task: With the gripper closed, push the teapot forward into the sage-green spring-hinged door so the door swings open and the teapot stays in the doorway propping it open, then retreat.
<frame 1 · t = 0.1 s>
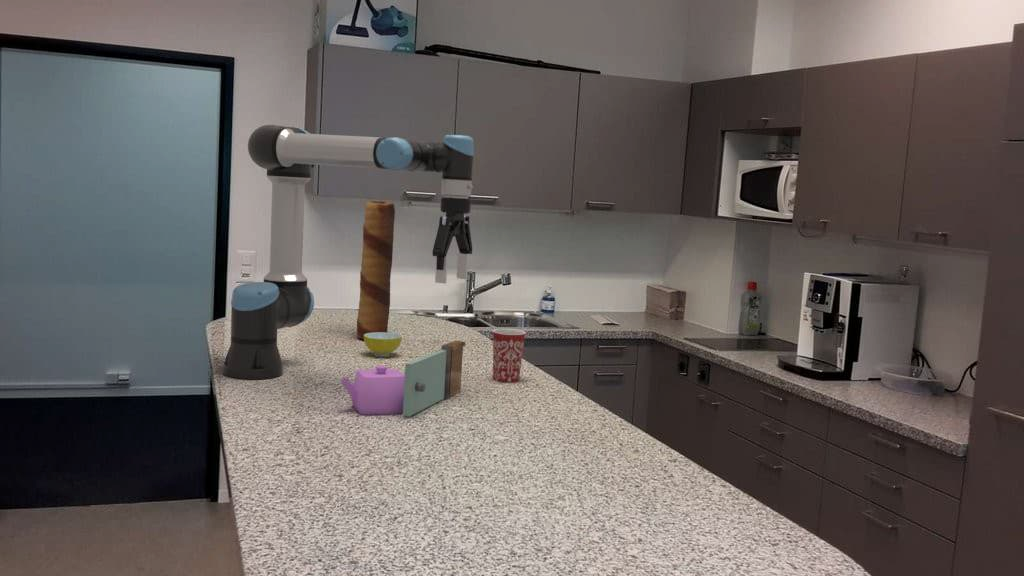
hand: (451, 280, 235), 28 cm above the countertop, fingers open, 13 cm apart
mug: (504, 379, 255), on the countertop
doorframe: (443, 398, 228), on the countertop
door: (428, 382, 216), point 6 cm above the countertop, hinge at 0.4°
teapot: (377, 410, 213), on the countertop
wafer roll: (373, 339, 303), on the countertop
bowl: (381, 356, 276), on the countertop
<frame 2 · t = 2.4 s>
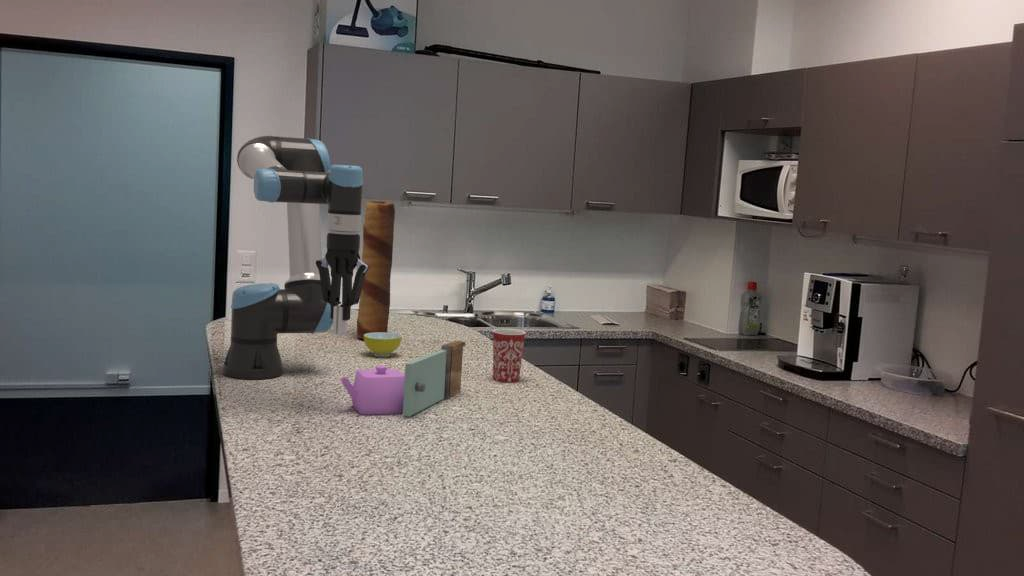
hand: (339, 333, 215), 16 cm above the countertop, fingers closed
nothing on the countertop moved.
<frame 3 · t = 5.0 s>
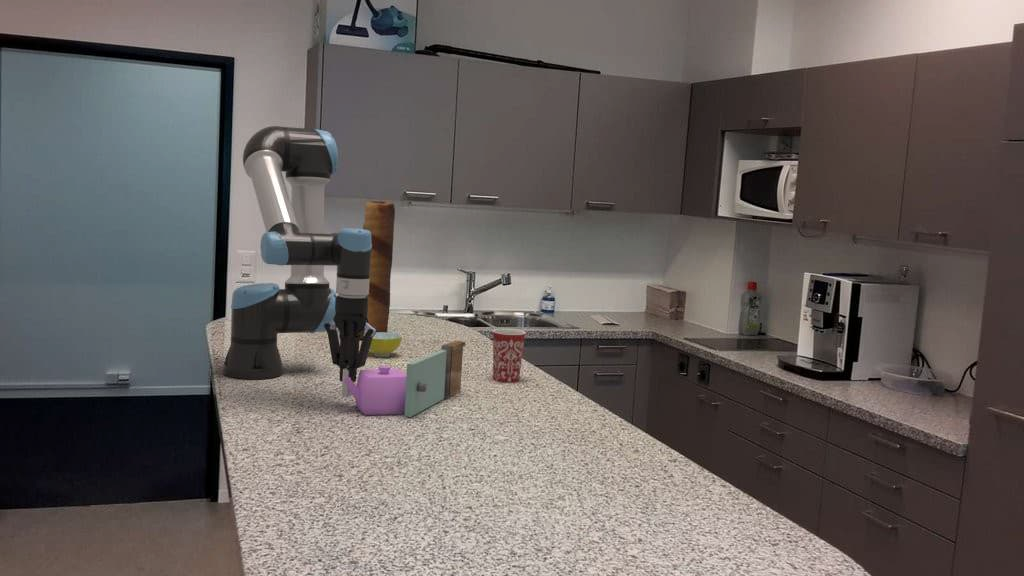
hand: (347, 395, 216), 2 cm above the countertop, fingers closed
door: (429, 382, 216), point 6 cm above the countertop, hinge at 1.5°, touching teapot
teapot: (380, 410, 213), on the countertop, touching door, gripper
everything else where it was.
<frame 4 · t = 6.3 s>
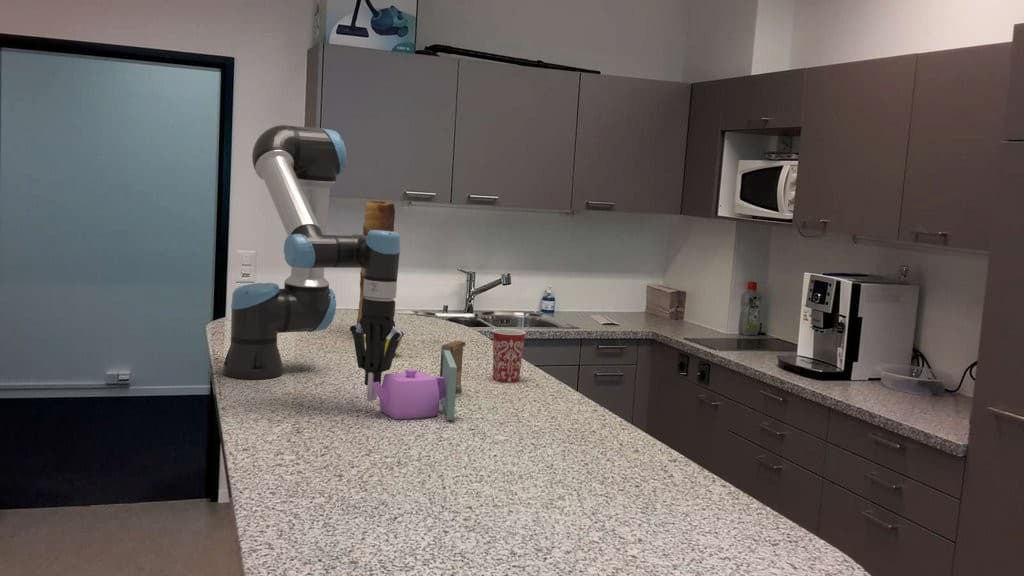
hand: (371, 399, 213), 2 cm above the countertop, fingers closed
door: (452, 383, 216), point 6 cm above the countertop, hinge at 27.6°, touching teapot
teapot: (407, 414, 211), on the countertop, touching door, gripper
everything else where it was.
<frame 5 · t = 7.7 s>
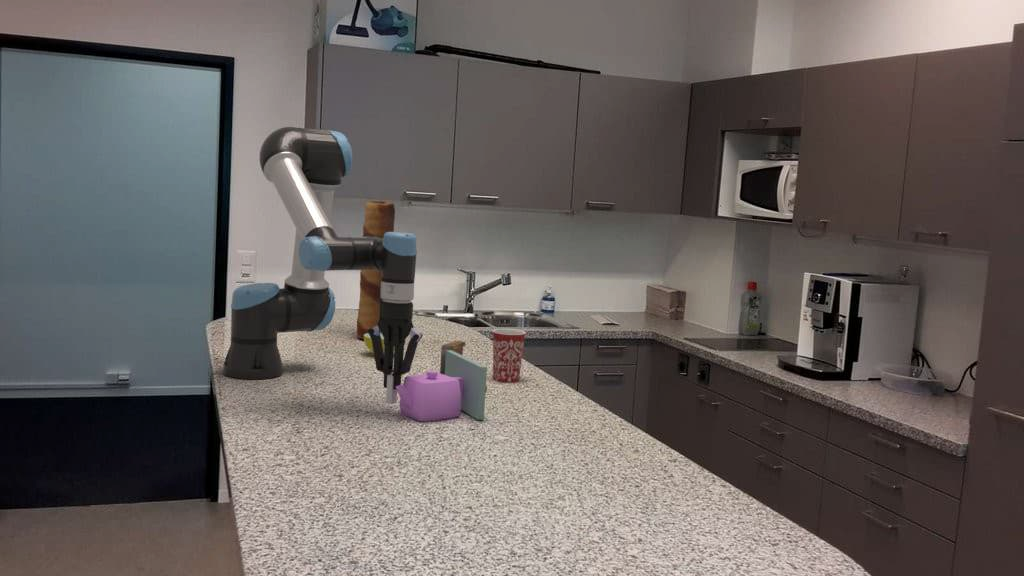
hand: (391, 402, 212), 2 cm above the countertop, fingers closed
door: (467, 383, 217), point 6 cm above the countertop, hinge at 46.3°, touching teapot
teapot: (428, 416, 211), on the countertop, touching door, gripper
everything else where it was.
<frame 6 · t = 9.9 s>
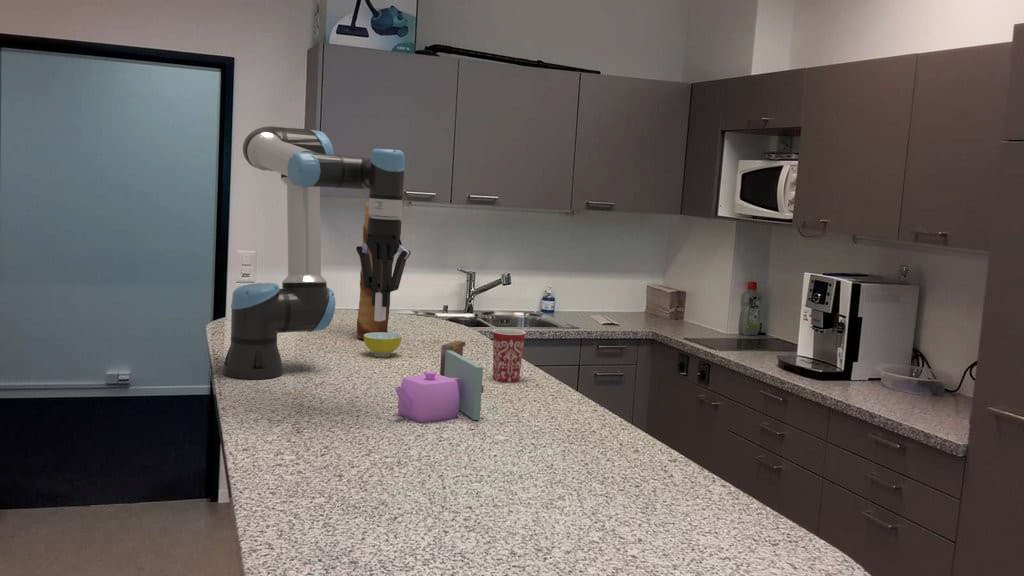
hand: (379, 320, 212), 21 cm above the countertop, fingers closed
door: (465, 383, 217), point 6 cm above the countertop, hinge at 43.7°
teapot: (426, 417, 210), on the countertop
everything else where it was.
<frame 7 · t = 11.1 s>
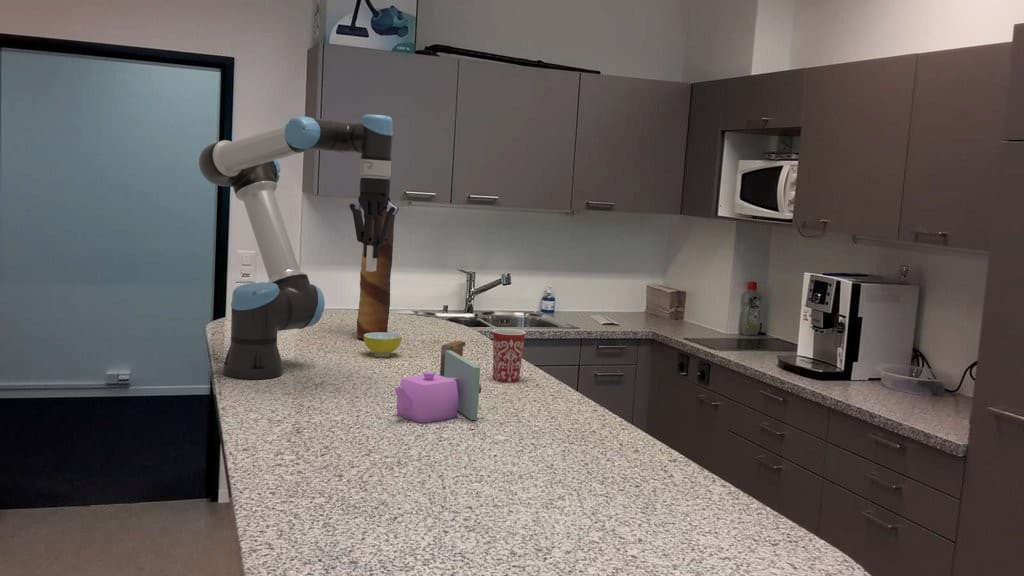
hand: (371, 270, 234), 29 cm above the countertop, fingers closed
door: (463, 383, 217), point 6 cm above the countertop, hinge at 41.9°
everything else where it was.
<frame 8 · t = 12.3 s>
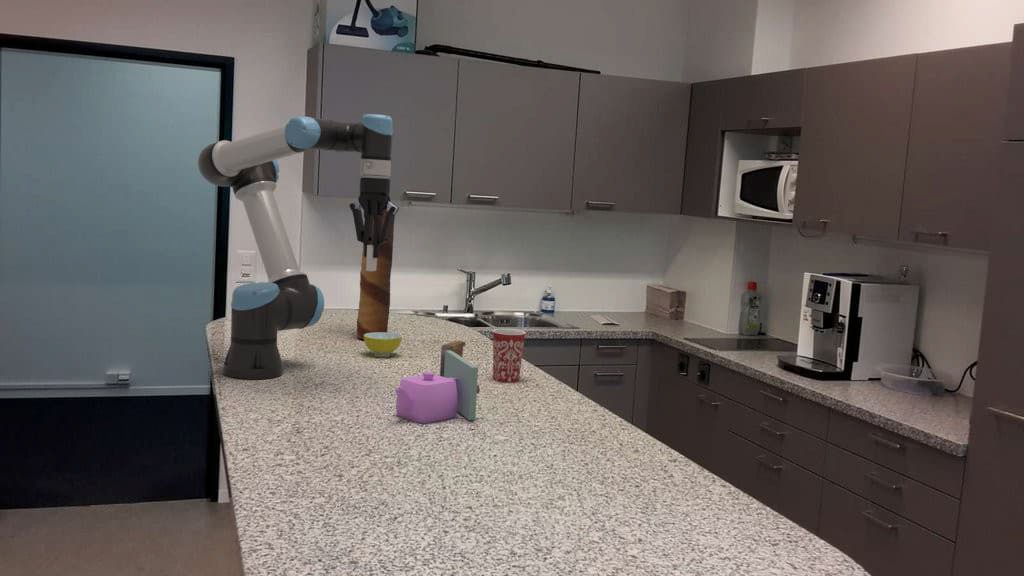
hand: (371, 270, 235), 29 cm above the countertop, fingers closed
door: (462, 383, 217), point 6 cm above the countertop, hinge at 40.6°
everything else where it was.
at the end: door at +40° (first picture: +0°); teapot moved 11.4 cm from its start; teapot tilted 0° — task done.
